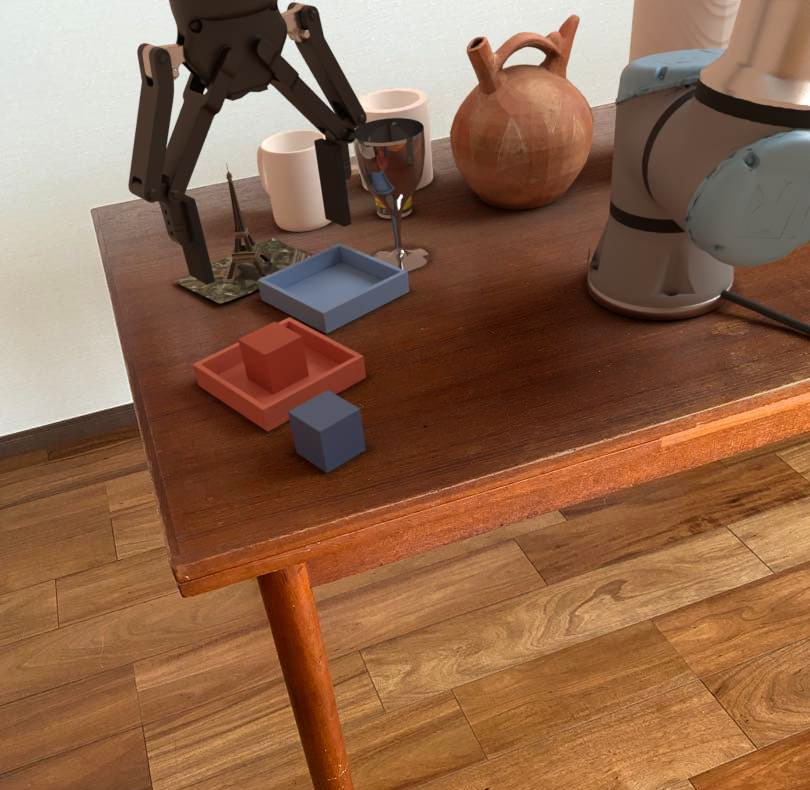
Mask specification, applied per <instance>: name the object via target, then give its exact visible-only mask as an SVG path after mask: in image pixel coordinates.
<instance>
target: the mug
mask: <svg viewBox="0 0 810 790" xmlns="http://www.w3.org/2000/svg"><path fill="white" fill-rule="evenodd" d="M357 98H358V100H359V102H360V104H361V106H362V108H363V109H364V111H365V113H366V116H367V120H366V123H368V122H371V121H375V120H380V119H387V118H407V119H413V120H416V121H419V122H421V123H422V124H423V126H424V136H425V160H424V168H423V174H422V178H421V181H420V183H419V184H418V186H417V188H416V189H415V190H414V192H415V191H418V190H421V189H423V188H425V187H426V186H428V185H429V184H431V183H432V181H433V179H434V170H433V169H434V168H433V167H434V166H433V153H432V152H433V151H432V139H431V137H432V136H431V123H430V122H431V121H430V106H429V96H428V94H427V93H426V92H424V91H423V90H419V89H416V88H408V87H407V88H405V87H403V88H402V87H398V88H395V87H393V88H386V89H385V88H384V89H380V90H374V91H371V92H368V93H365V94H362V95H360V96H359V97H357ZM357 127H358V126H357ZM357 127H356V128H357ZM356 128H355V129H356ZM350 165H351V171H352V173H351V176H355V175H360V173H359V170H358V166H357V163H355V164H350ZM361 184H362V187H363V188H364V189H365V190H366V191H369V190H368V189H367V188H366V187H365V185H364V183H363V181H362V180H361ZM369 192H370V191H369Z"/></svg>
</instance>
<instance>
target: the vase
mask: <svg viewBox="0 0 810 790" xmlns="http://www.w3.org/2000/svg"><path fill="white" fill-rule="evenodd" d="M740 2H741V0H633V7H632V8H633V9H632V18H631V19H632V20H631V32H630V41H629V42H630V43H629V53H628V54H629V56H628V64H629V63H630V62H632V61H634V60H636V59H638V58H641V57H645V56H649V55H654V54H658V53H665V52H672V51H681V50H693V49H727V47H728V44H729V40H730V37H731V33H732V30H733V26H734V23H735V20H736V16H737V13H738V9H739V6H740Z"/></svg>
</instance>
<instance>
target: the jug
mask: <svg viewBox="0 0 810 790" xmlns="http://www.w3.org/2000/svg"><path fill="white" fill-rule="evenodd" d="M579 25H580V17H579V16H578V15H577V14H572V15H570V16H569V17H567V18H566V20H564V22H563V23H562V24H561V25H560V27H559V29H558V30H557V31H555V30H554V31H551V32H550V33H548V34H547V35H545V36H543V35H541V34H540V33H537V32H532V31H523V32H518V33H516V34H514V35H512V36H511V37H510V38H508V39H507V40H506V41H504V42H503V44H502V45H501V46H500V47H499V48H498V49H497V50H496V51H495V52H493V50H492V46H491V43H490V42H489V40H488V37H486V36H477V37H474V38H473V39H471V40H470V41H469V43H468V44H467V46H466V54H467V58H468V60H469V62H470V64H471V66H472V68H473V69H472V70H473V71H474V74H475V77H476V79H477V82H478V83H477V84H476V86H474V87H473V89H472V90H471V91H470V92H469V94H468V95H466V97H465V99H464V100H463V101H462V102H461V104H460V105H459V107H458V109H457V111H456V113H455V115H454V117H453V120H452V123H451V126H450V130H449V140H450V141H449V142H450V148H451V154H452V157H453V160H454V164H455V166H456V168H457V170H458V172H460V175H461V177H462V178H463V179H464V181H465V182H466V183H467V185H468V186H469V187H470V188H471V189H472V191H473V192H474V193H475V194H476V196H478V197H479V199H480V200H481V201H482V202H483V203H485V204H487V205H490V206H492V207H495V208H500V209H507V210H511V211H512V210H513V211H517V210H530V209H537V208H541V207H545V206H548V205H551V204H553V203H555V202H557V201H559V200H560V199H561V198H562V197H563V196H564V195H565V194H566V192H567V190H569V188H570V187H571V185H572V184H573V183H574V182H575V180H576V179H577V177H578V176H579V174H580V173H581V171H582V170H583V168H584V166H585V164H586V163H587V161H588V157H589V154H590V151H591V147H592V143H593V138H594V137H593V136H594V123H595V121H594V120H595V118H594V115H593V111H592V108H591V106H590V104H589V102H588V100H587V98H586V97H585V96H584V94H583V92H581V90H580V89H579V88H578V87H577V86H576V85H574V84H573V83H572V81H570V80H569V79H568V78H567V67H568V64H569V60H570V57H571V53H572V47H573V44H574V40H575V36H576V33H577V30H578V27H579ZM524 48H525V49H526V48H533V49H537V50H539V51H541V52H542V53H543V54H544V55H545V58H544V59H543V61H542V62H540V63H539V64H528V63H527V64H525V63H524V64H512V65H509V66H506V67H504V65H505V64H506V62H507V61H508V60H509V58H510V57H511V56H512V55H514V54H515V53H516V52H518V51H520V50H522V49H524Z"/></svg>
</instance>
